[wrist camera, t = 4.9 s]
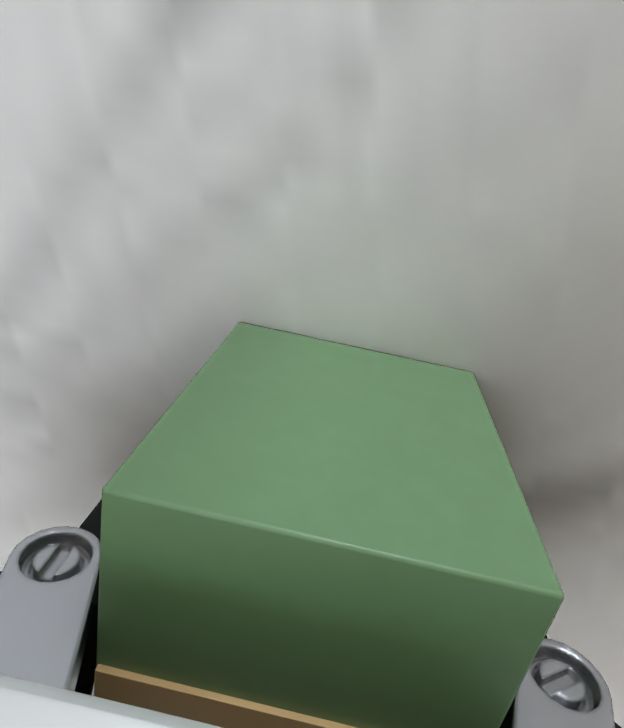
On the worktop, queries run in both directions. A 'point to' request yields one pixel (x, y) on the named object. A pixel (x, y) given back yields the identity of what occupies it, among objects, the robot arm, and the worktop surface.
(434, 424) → the package
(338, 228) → the worktop surface
